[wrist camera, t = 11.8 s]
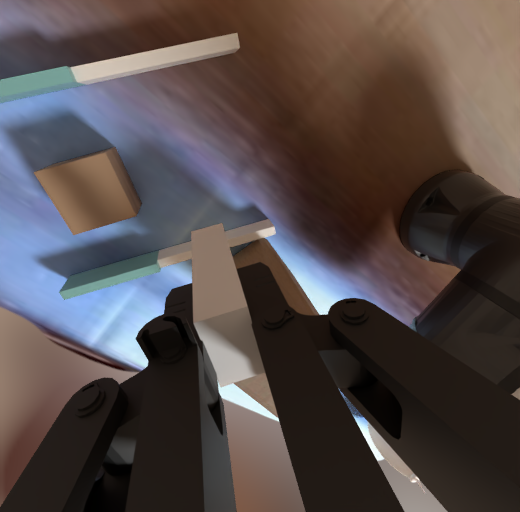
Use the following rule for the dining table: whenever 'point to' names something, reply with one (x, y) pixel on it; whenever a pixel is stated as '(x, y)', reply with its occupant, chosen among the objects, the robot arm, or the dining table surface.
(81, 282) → the walled lane
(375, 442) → the sauce bottle
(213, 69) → the dining table surface
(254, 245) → the wooden block
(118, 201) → the walnut block
